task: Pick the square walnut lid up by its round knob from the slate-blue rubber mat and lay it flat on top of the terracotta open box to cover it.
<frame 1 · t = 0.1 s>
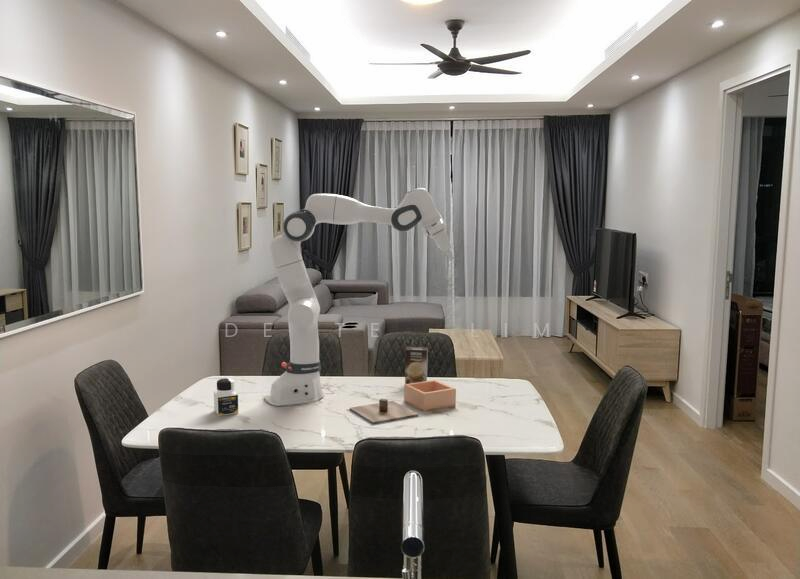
hand: (450, 258, 248), 54 cm above the table, tool tilted 30°, fingers open, 8 cm apart
slate mat: (383, 414, 232), on the table
terracotta open box: (429, 404, 244), on the table
walnut lid: (383, 413, 232), point 1 cm above the table, touching slate mat
coffee box: (416, 386, 269), on the table
medicine bottle: (226, 412, 233), on the table
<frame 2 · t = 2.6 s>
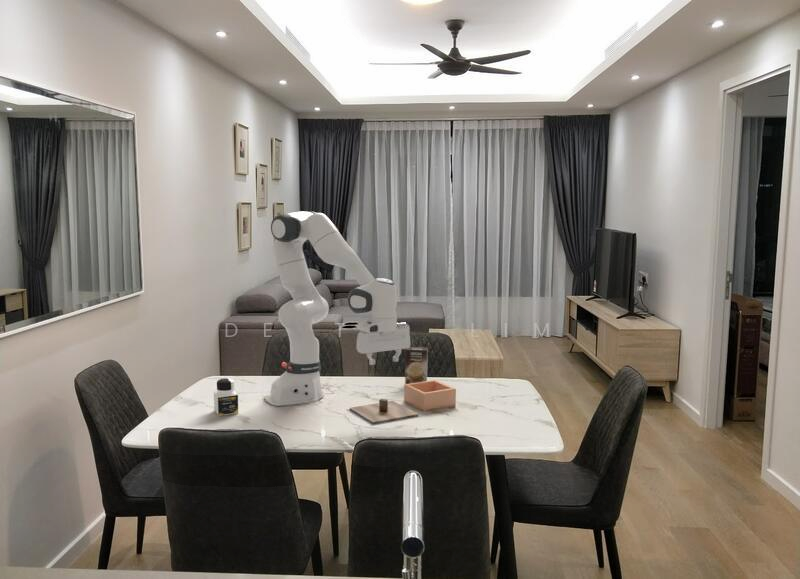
hand: (383, 363, 230), 19 cm above the table, tool pointing down, fingers open, 8 cm apart
nothing on the table moved.
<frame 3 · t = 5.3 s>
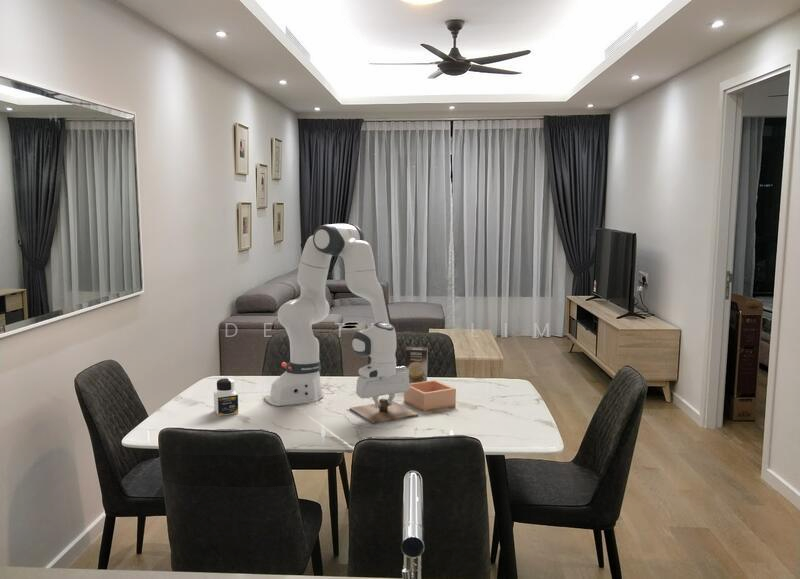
hand: (383, 406, 232), 3 cm above the table, tool pointing down, fingers closed on walnut lid, 3 cm apart
walnut lid: (383, 413, 232), point 1 cm above the table, touching gripper, slate mat
everything else where it was.
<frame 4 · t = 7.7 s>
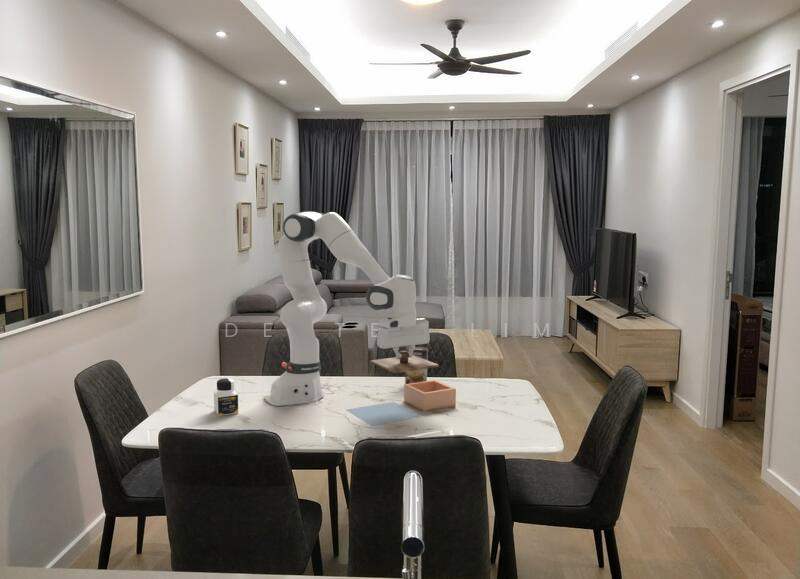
hand: (404, 358, 234), 20 cm above the table, tool pointing down, fingers closed on walnut lid, 3 cm apart
walnut lid: (404, 364, 234), point 17 cm above the table, touching gripper
everything else where it was.
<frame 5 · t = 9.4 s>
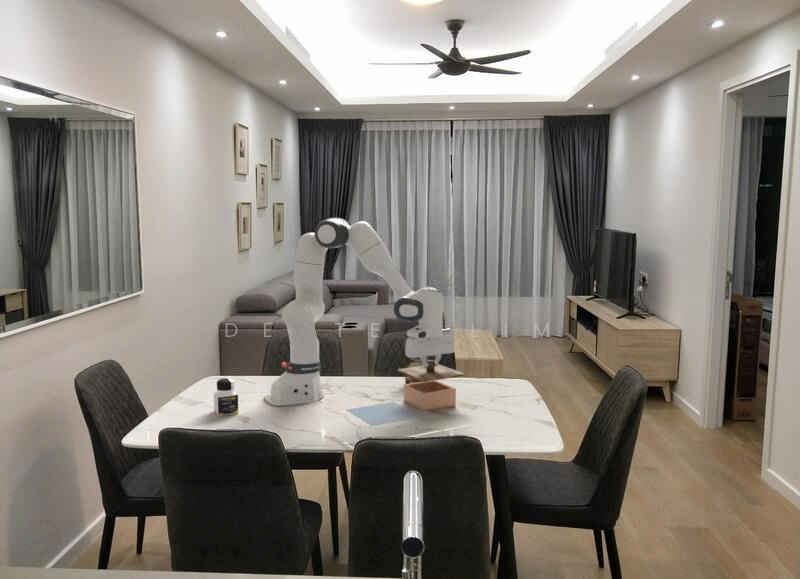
hand: (430, 367, 242), 15 cm above the table, tool pointing down, fingers closed on walnut lid, 3 cm apart
walnut lid: (430, 373, 243), point 12 cm above the table, touching gripper
everything else where it was.
when the fingers open (11 cm above the table, at t = 10.6 s): walnut lid drops 2 cm, resting on terracotta open box.
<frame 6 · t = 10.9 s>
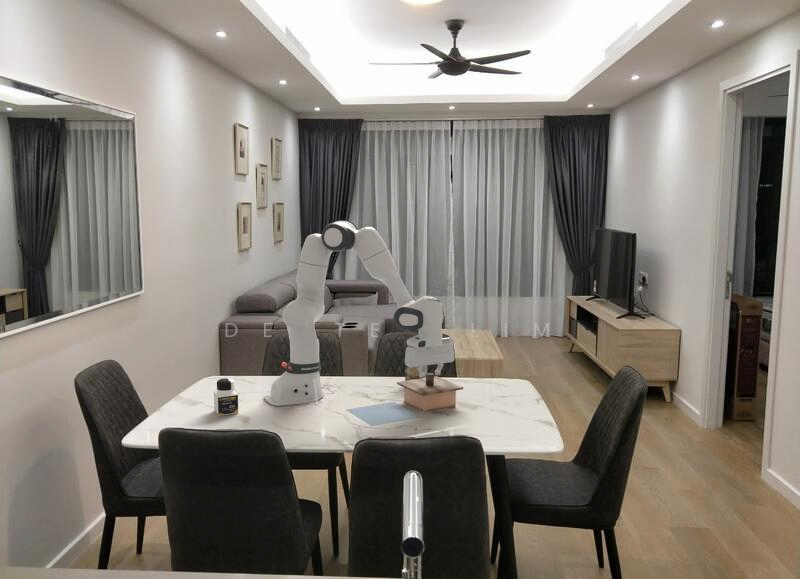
hand: (429, 376, 243), 11 cm above the table, tool pointing down, fingers open, 5 cm apart
walnut lid: (429, 386, 243), point 7 cm above the table, touching terracotta open box
everything else where it was.
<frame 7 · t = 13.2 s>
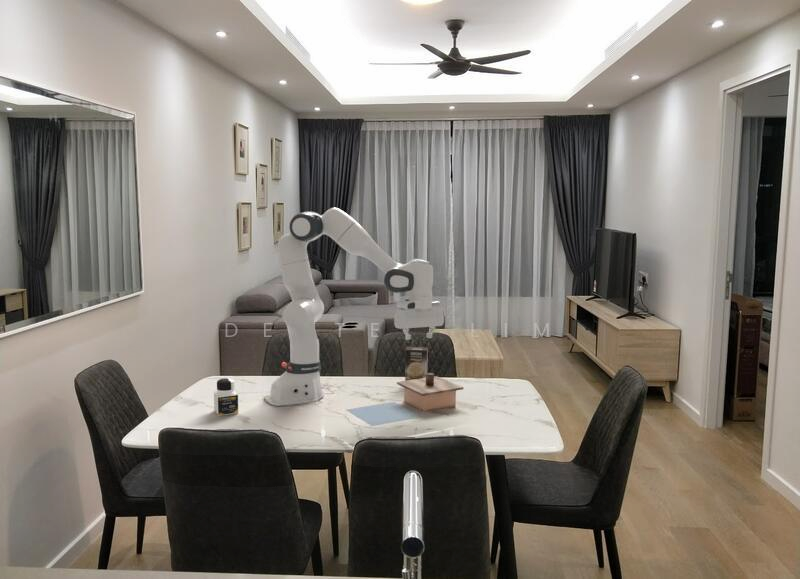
hand: (418, 338, 244), 25 cm above the table, tool pointing down, fingers open, 8 cm apart
nothing on the table moved.
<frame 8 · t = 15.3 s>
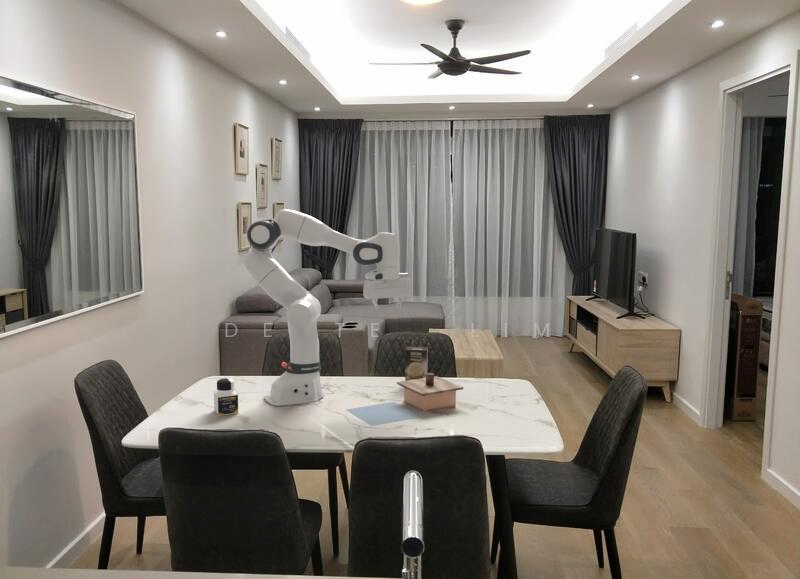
hand: (387, 309, 253), 34 cm above the table, tool pointing down, fingers open, 8 cm apart
nothing on the table moved.
at the end: walnut lid 0.1 cm off-centre on the terracotta open box, point 7.0 cm above the terracotta open box's base; walnut lid tilted 0°; the gripper is holding nothing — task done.
